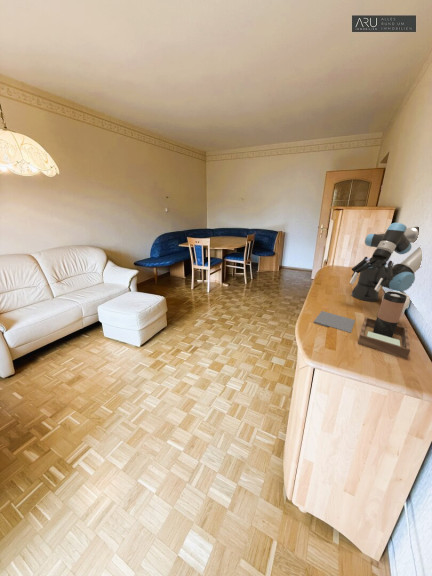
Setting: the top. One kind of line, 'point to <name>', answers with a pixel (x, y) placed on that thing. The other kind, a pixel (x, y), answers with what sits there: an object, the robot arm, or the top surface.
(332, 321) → the charcoal mat
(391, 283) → the robot arm
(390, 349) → the brown wooden tray
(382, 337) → the top offcut
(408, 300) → the cup
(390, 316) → the travel mug
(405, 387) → the top surface
